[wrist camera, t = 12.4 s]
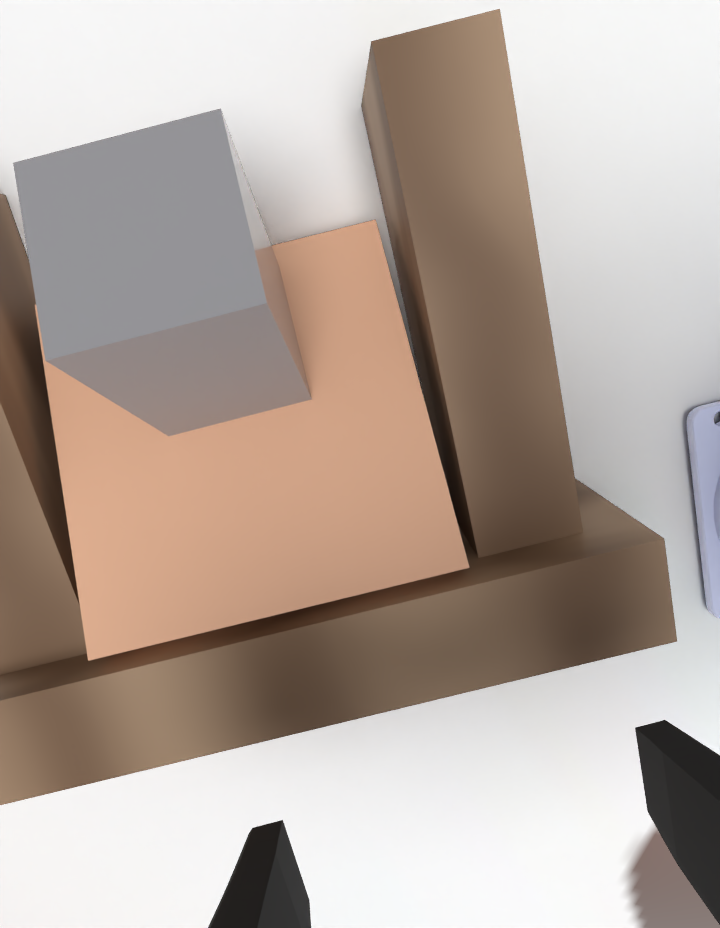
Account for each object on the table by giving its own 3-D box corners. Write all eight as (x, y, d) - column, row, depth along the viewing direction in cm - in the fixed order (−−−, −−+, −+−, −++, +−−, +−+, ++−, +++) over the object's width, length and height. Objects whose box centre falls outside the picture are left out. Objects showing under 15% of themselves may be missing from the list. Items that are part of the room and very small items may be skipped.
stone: (279, 266, 17) (220, 108, 11) (311, 399, 17) (267, 303, 11) (142, 302, 17) (13, 163, 11) (168, 436, 17) (45, 360, 11)
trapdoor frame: (508, 68, 18) (591, -45, 13) (585, 555, 22) (677, 641, 16) (-140, 231, 19) (-354, 194, 13) (50, 685, 22) (-47, 816, 17)
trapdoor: (376, 242, 19) (375, 219, 17) (464, 568, 17) (469, 567, 16) (57, 321, 19) (34, 304, 18) (109, 654, 17) (88, 660, 16)
